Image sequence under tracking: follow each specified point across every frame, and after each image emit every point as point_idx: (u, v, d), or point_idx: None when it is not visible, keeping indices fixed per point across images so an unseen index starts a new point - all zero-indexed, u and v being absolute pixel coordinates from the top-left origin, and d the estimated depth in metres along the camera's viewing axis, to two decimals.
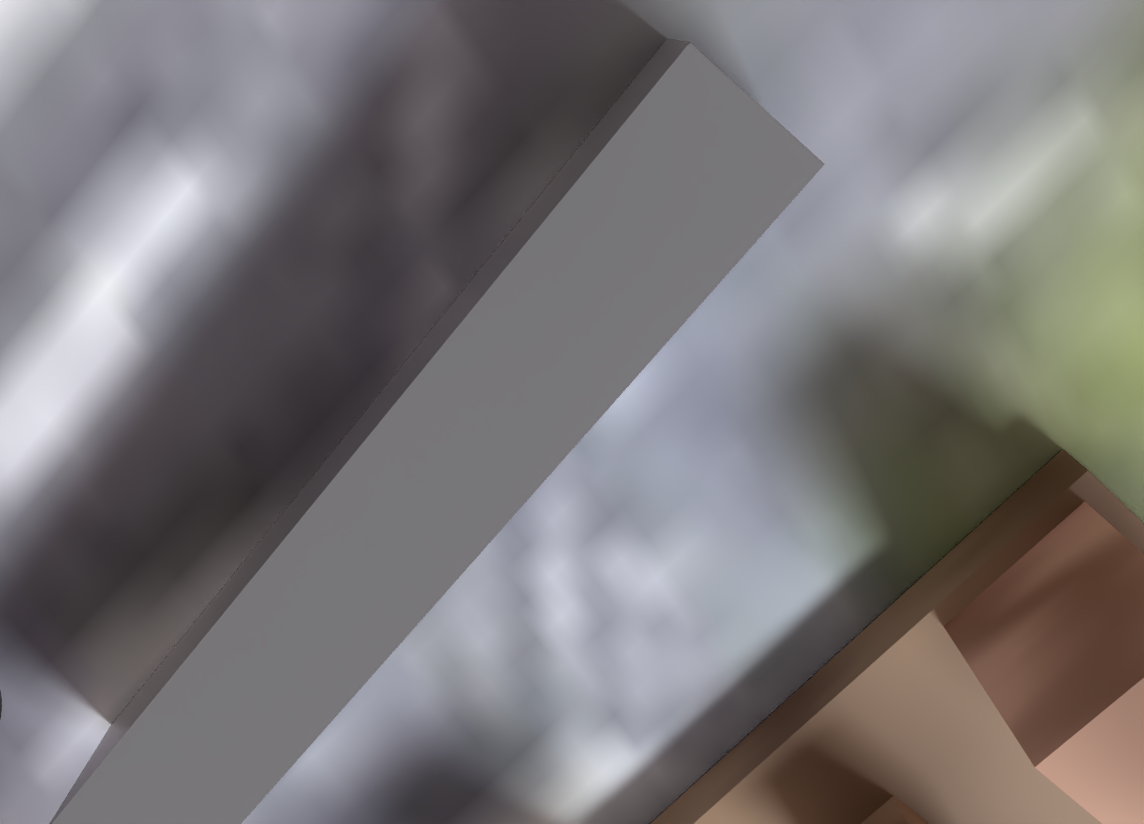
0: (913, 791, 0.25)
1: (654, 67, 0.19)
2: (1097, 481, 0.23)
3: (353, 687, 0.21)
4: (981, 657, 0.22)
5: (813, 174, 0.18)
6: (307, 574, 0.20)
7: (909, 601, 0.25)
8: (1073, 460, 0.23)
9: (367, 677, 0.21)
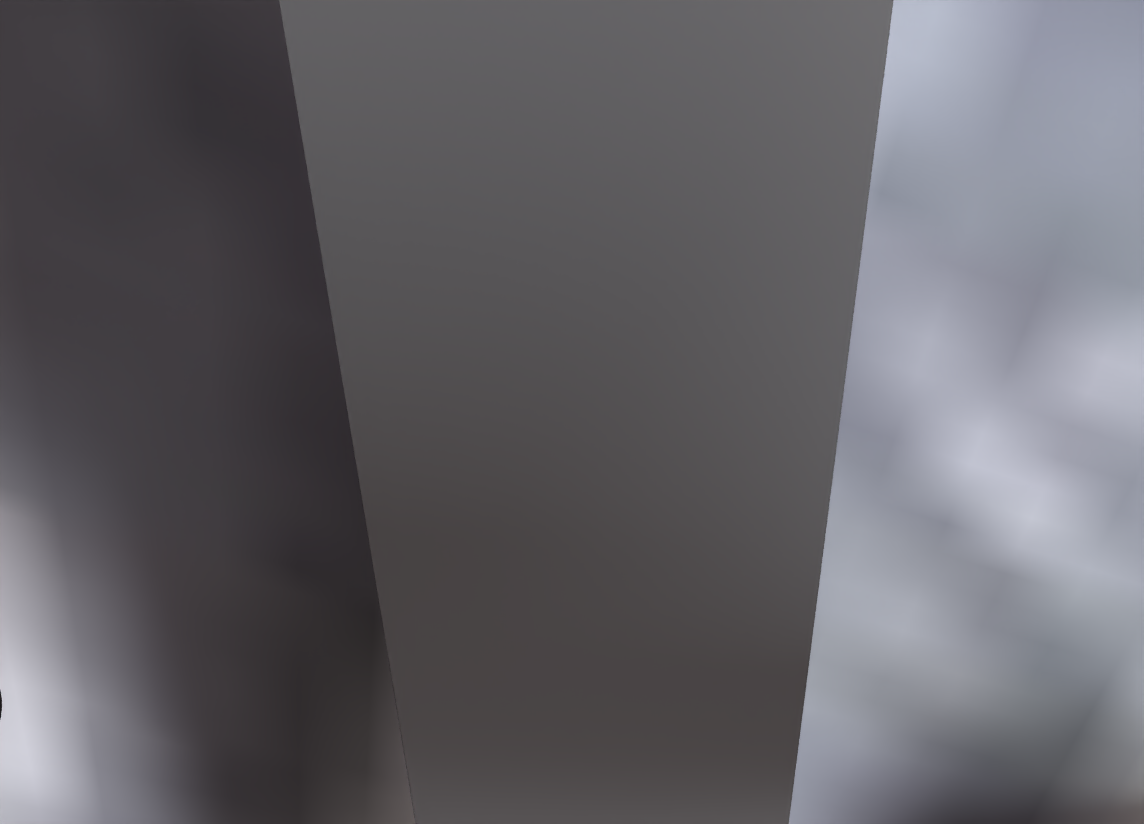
0: None
1: None
2: None
3: None
4: None
5: None
6: None
7: None
8: None
9: None
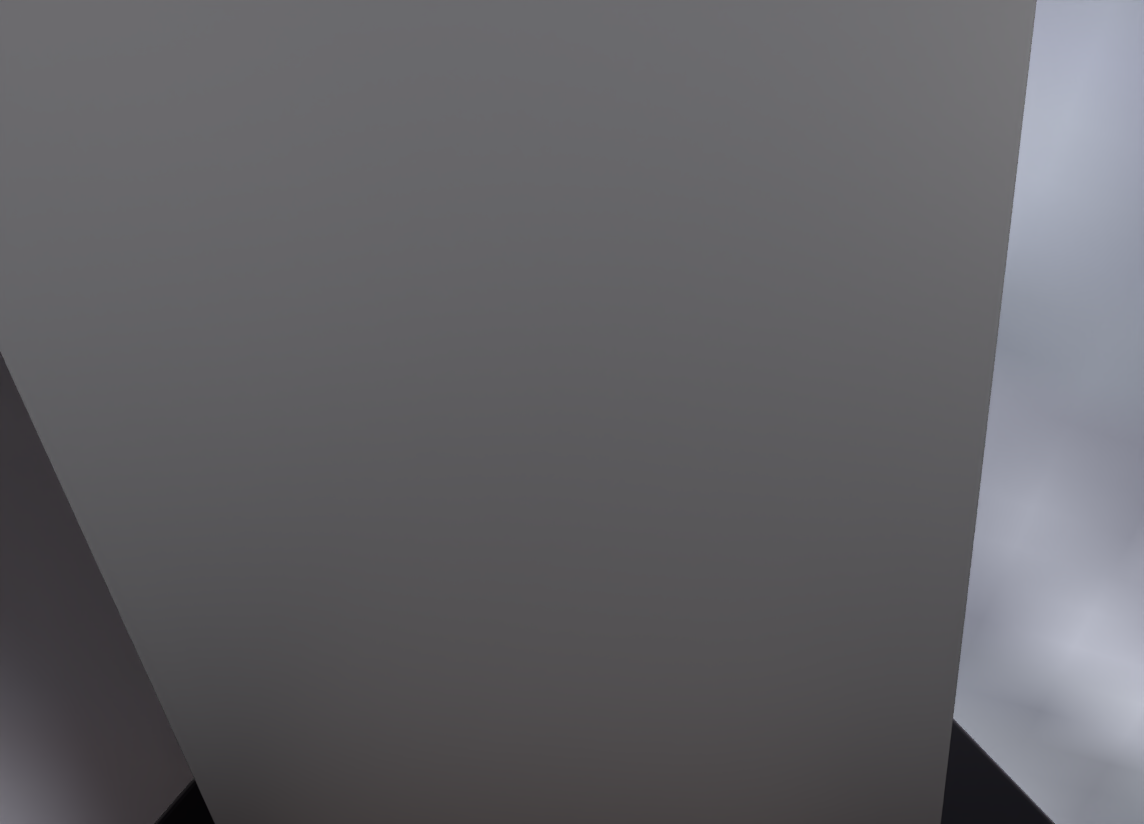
0: None
1: None
2: None
3: None
4: None
5: None
6: None
7: None
8: None
9: None
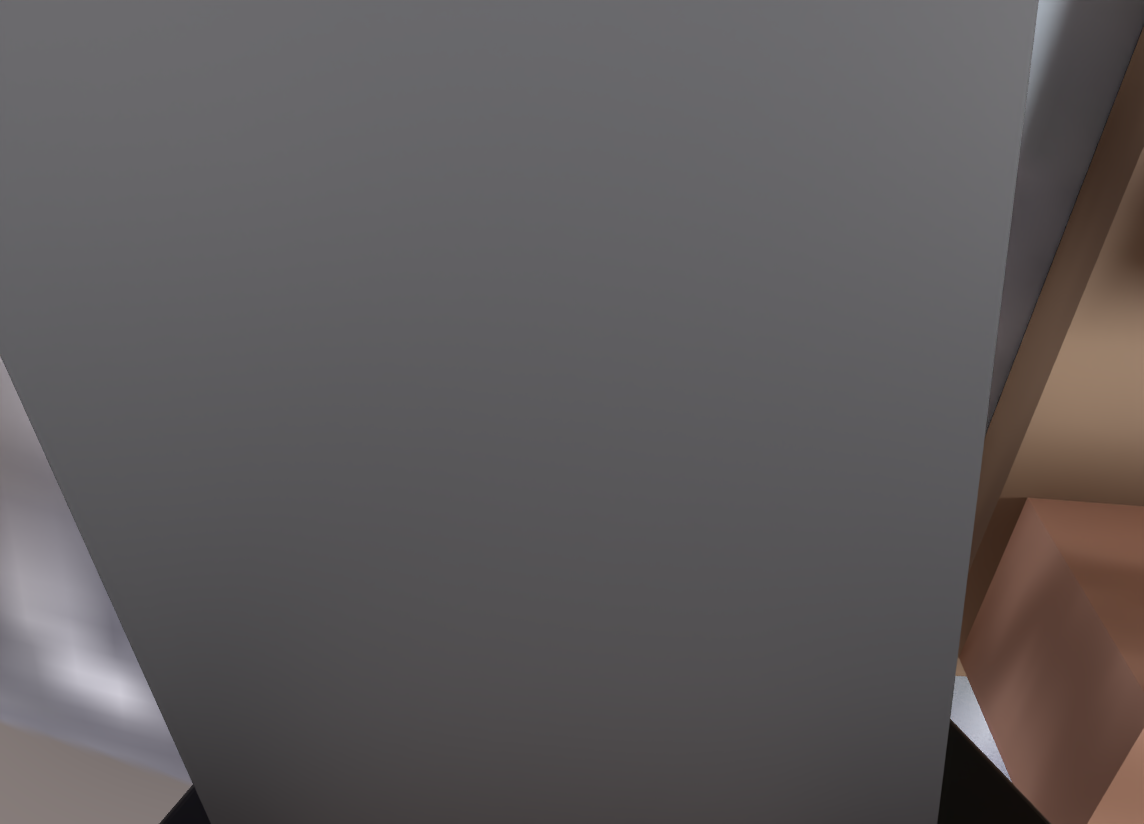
0: None
1: None
2: None
3: None
4: None
5: None
6: None
7: None
8: None
9: None
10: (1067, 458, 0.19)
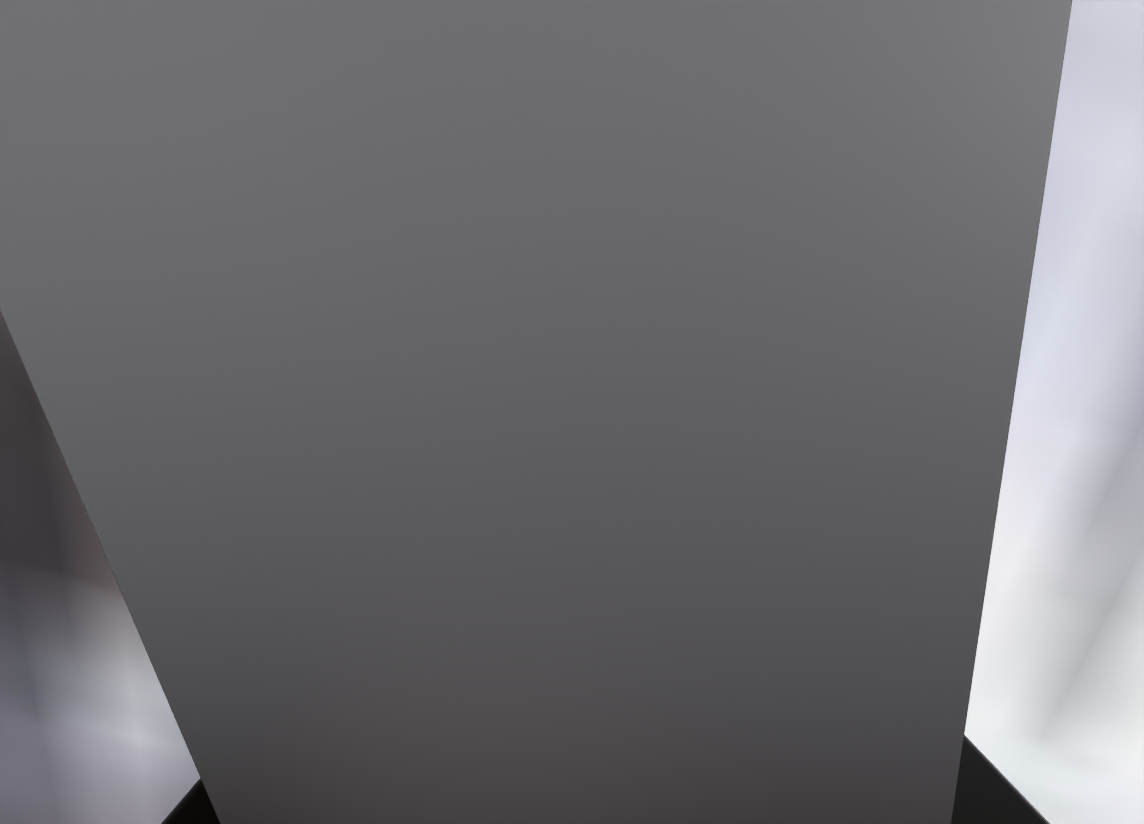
0: None
1: None
2: None
3: None
4: None
5: None
6: None
7: None
8: None
9: None
10: None
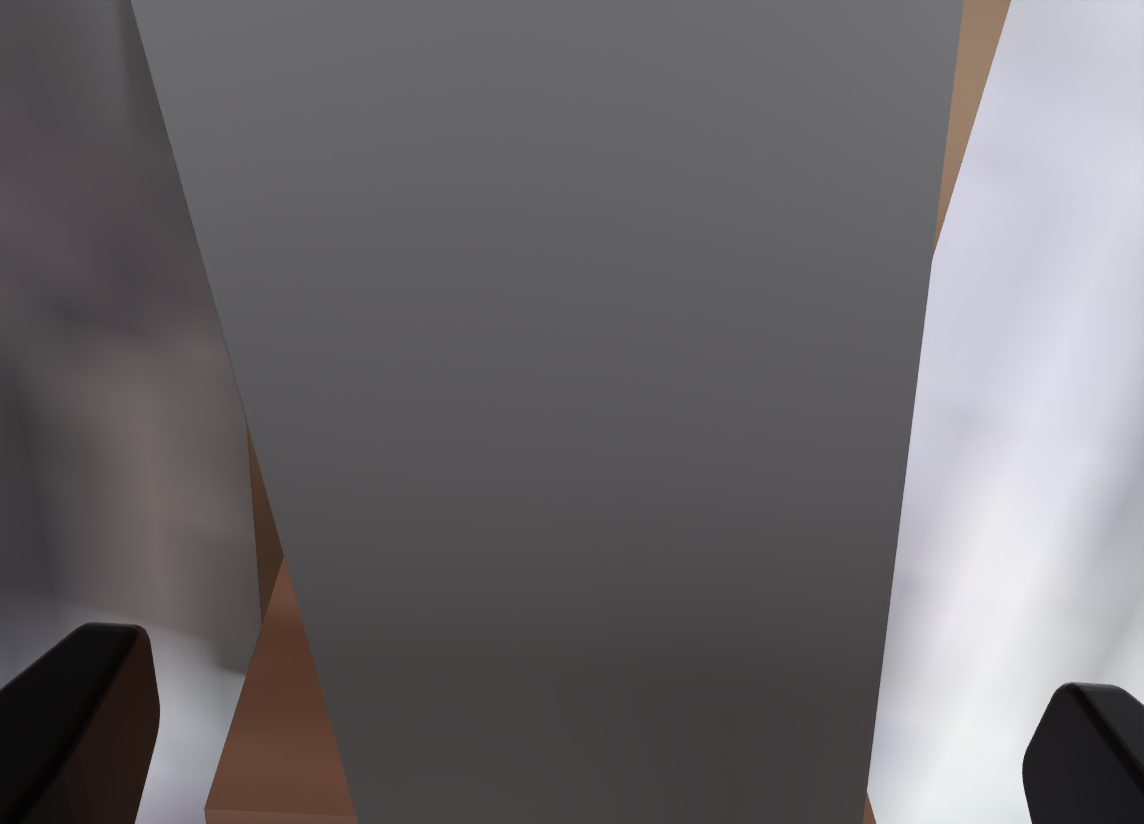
0: None
1: None
2: None
3: None
4: None
5: None
6: None
7: None
8: None
9: None
10: None
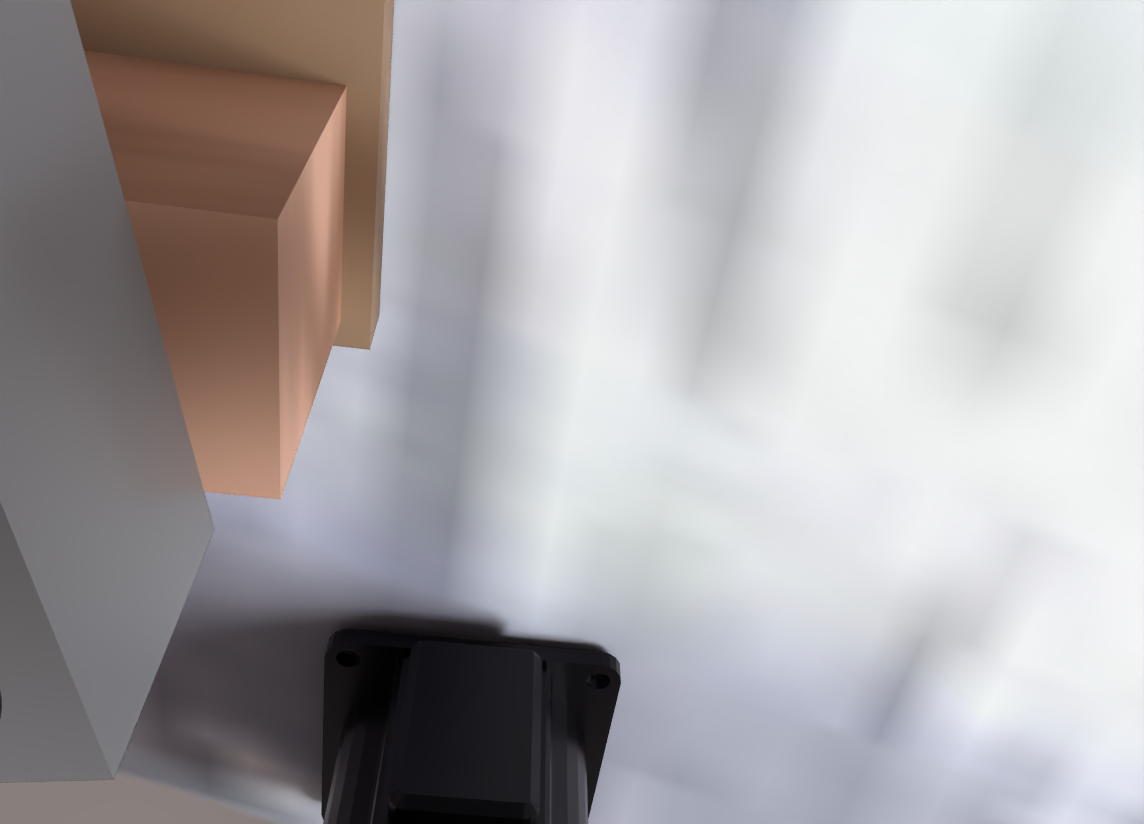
0: None
1: None
2: None
3: None
4: None
5: None
6: None
7: None
8: None
9: None
10: None
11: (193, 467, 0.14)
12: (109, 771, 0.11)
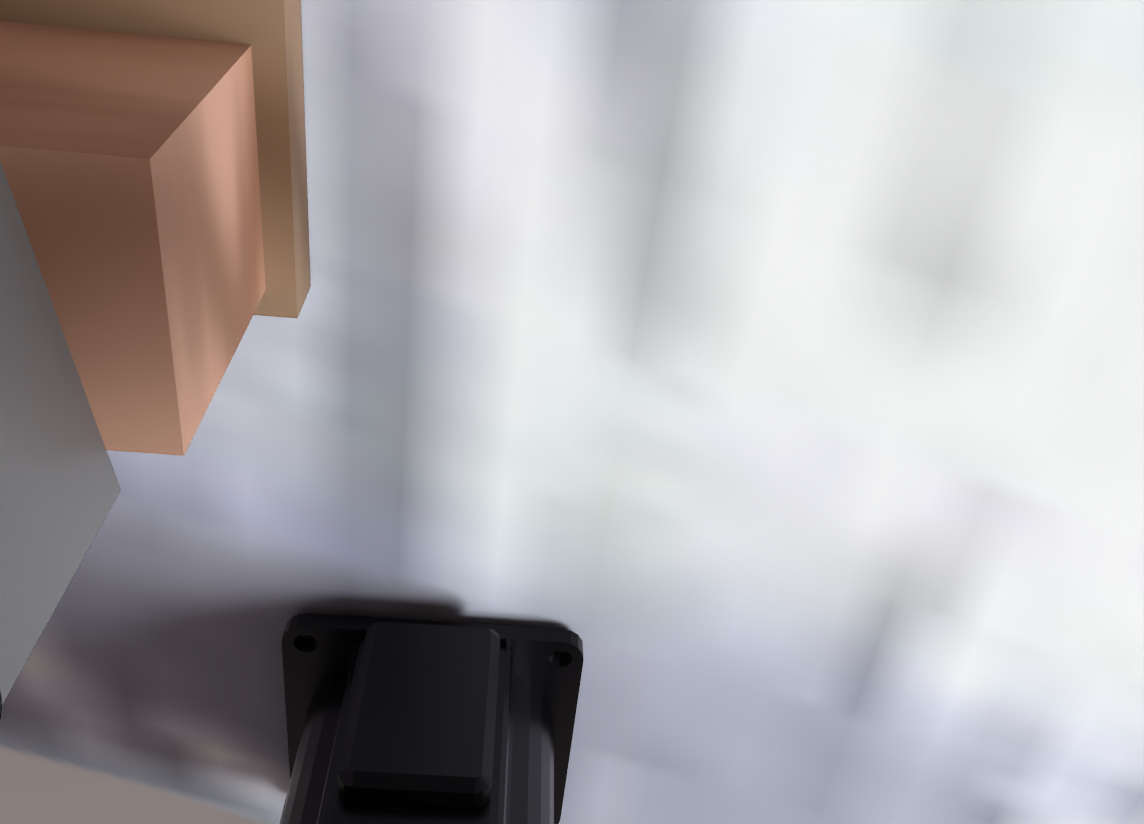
0: None
1: None
2: None
3: None
4: None
5: None
6: None
7: None
8: None
9: None
10: None
11: (91, 423, 0.14)
12: None
